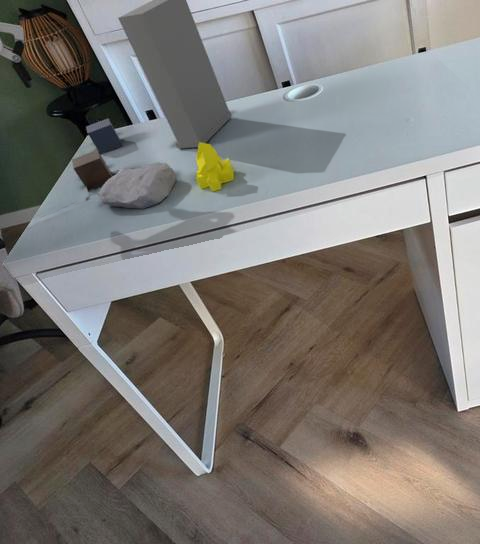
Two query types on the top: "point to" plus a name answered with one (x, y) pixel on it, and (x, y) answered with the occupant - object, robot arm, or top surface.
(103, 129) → the slate block
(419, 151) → the top surface
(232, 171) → the crumpled paper
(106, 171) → the walnut block
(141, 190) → the grey rock
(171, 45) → the tall grey pillar
